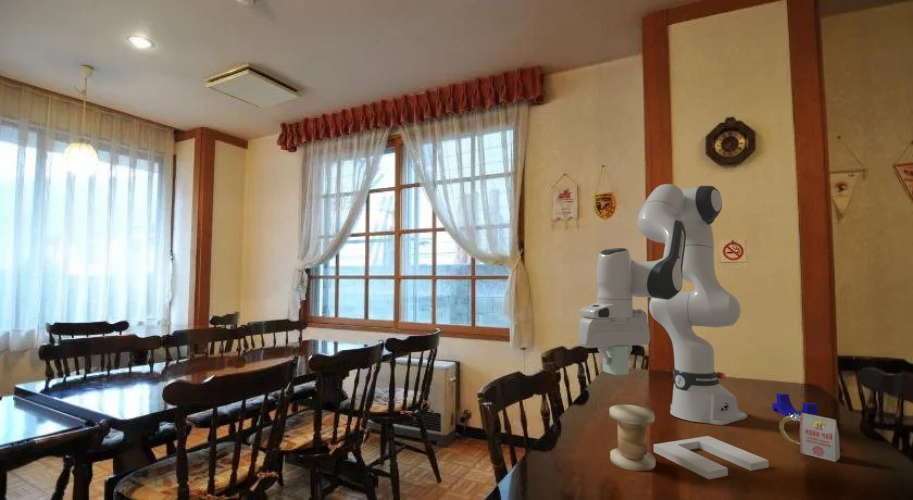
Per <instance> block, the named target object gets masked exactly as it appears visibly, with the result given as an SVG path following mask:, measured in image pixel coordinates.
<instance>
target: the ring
mask: <svg viewBox="0 0 913 500" xmlns="http://www.w3.org/2000/svg"><path fill="white" fill-rule="evenodd" d="M789 421H798V422H800V421H801V415H800V416H799V414H798V415H796V413H794V414H792V415H791V414H790V413H789V416H784V417H783V418H782V419H781V420H780V421H779V424H778V426H779V427H778V428H779V431H780V433H781V435H782V437H783V438H784V439H785V440H786V441H788V442H790V443H793V444H797V445H800V441H799V440H794V439H792V438H791V437H789V435H788V434H787V433H786V431H785V423H786V422H789Z"/></svg>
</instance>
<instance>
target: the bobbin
mask: <svg viewBox="0 0 913 500" xmlns="http://www.w3.org/2000/svg"><path fill="white" fill-rule="evenodd" d="M609 417H610V418H611V419H612V420H614V421H617V448H613V449H611V451H610V452H609V455H610V457H609V459H610V462H611V463H612V464H613V465H615V466H617V467H619V468H621V469H625V470H628V471H629V470H630V471H635V472H644V471H645V472H647V471H652V470H654V469H655V467H656V463H657V462H656V457H655V456H654V455H653V454H652V453H650V452H648V443H647V442H648V441H647V440H648V439H647V438H648V437H647V436H648V435H647V434H648V433H647V425H650V424H653V423H655V420H656V419H655V412H654V411H653V410H651V409H649V408H646V407H644V406H639V405H633V404H615V405H611V406H610V407H609Z"/></svg>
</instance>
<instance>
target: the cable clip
mask: <svg viewBox="0 0 913 500" xmlns="http://www.w3.org/2000/svg"><path fill="white" fill-rule="evenodd" d="M802 404H803V405H802V409H801V411H800V412H799V411H798V410H797V409H796V408H795V407H794V406H793V404H792V401H791V398H790V394H789V393H776V402H772V403H771V405H772V411H773V412H777V413H778V414H780V415H782V416H784V417H787V416H789V413H790V414H791V415H792V414H794V413H796V415H798V414H799V416H800V415H801V413H805V414H810V415H815V416H819V415H818V404H817V403H815V402H803V403H802Z"/></svg>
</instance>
